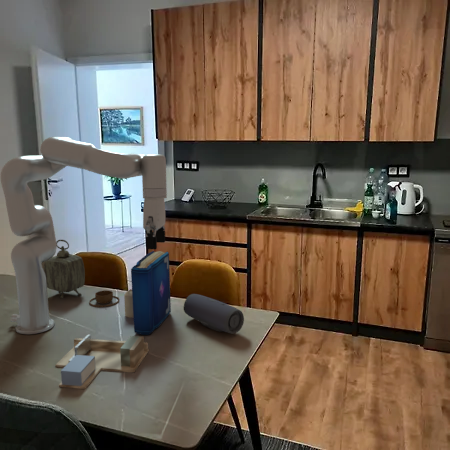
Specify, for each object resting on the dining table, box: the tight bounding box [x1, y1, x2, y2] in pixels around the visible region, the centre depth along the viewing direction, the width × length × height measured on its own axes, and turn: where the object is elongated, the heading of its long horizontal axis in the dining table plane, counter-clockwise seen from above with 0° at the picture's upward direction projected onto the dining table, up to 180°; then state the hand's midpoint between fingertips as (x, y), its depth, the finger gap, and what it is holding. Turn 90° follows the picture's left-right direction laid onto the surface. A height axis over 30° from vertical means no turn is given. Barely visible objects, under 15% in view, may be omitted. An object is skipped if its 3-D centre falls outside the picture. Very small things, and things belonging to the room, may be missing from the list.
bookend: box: [68, 334, 92, 363], centre depth 133 cm, size 3×9×5 cm, turn 172°
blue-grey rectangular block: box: [60, 355, 96, 386], centre depth 122 cm, size 6×9×4 cm, turn 172°
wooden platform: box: [55, 335, 150, 390], centre depth 128 cm, size 24×24×6 cm
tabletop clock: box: [43, 239, 86, 299], centre depth 184 cm, size 14×9×25 cm, turn 66°
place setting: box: [88, 289, 120, 311], centre depth 179 cm, size 18×20×6 cm
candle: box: [123, 288, 134, 319], centre depth 166 cm, size 6×6×10 cm
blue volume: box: [130, 250, 172, 336], centre depth 156 cm, size 22×7×25 cm, turn 168°
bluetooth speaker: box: [183, 293, 245, 335], centre depth 156 cm, size 23×9×10 cm, turn 45°
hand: (156, 245), depth 143 cm, fingers open, 9 cm apart
